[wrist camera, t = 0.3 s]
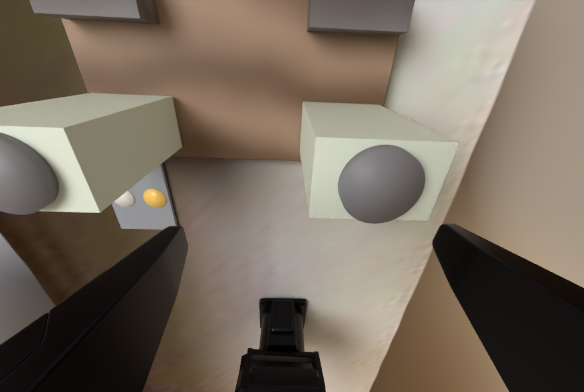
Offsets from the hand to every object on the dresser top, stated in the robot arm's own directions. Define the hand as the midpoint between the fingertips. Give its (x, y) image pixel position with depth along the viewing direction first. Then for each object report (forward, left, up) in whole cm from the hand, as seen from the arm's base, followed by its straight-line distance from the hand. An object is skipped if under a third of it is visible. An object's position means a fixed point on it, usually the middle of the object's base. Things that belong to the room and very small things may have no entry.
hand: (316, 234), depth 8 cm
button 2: (+1, +13, -13) cm, 18 cm away
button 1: (+1, -3, -13) cm, 13 cm away
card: (-7, +16, -15) cm, 23 cm away
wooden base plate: (+4, +5, -15) cm, 16 cm away
